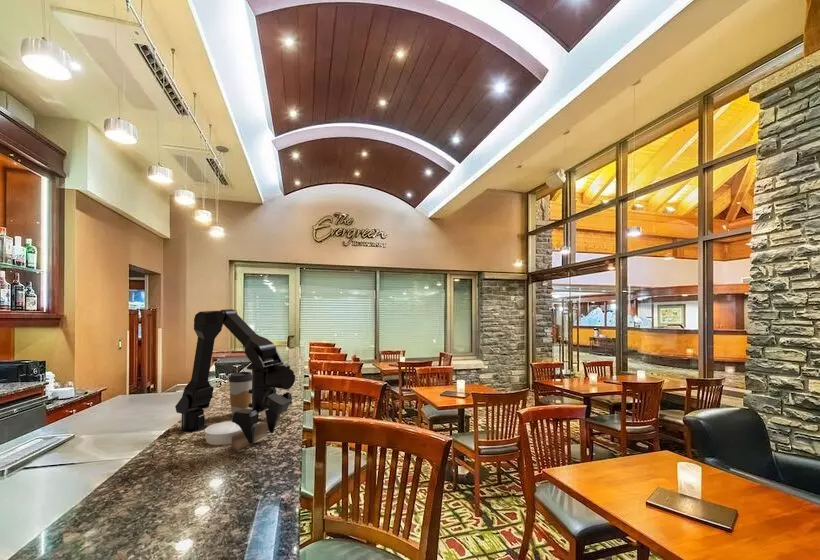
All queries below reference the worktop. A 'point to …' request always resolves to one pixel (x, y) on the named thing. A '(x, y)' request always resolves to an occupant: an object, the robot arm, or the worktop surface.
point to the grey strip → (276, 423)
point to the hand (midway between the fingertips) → (261, 438)
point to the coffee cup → (240, 390)
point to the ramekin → (221, 433)
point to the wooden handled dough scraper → (241, 440)
